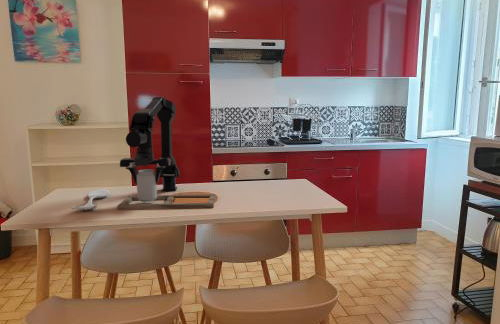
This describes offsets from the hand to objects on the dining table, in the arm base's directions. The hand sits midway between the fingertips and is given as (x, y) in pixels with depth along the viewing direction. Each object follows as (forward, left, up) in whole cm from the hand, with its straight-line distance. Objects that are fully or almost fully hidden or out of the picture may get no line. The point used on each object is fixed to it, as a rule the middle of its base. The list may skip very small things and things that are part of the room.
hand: (146, 183), depth 154 cm
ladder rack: (0, +8, -8) cm, 12 cm away
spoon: (-3, -22, -9) cm, 24 cm away
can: (0, 0, -7) cm, 7 cm away
